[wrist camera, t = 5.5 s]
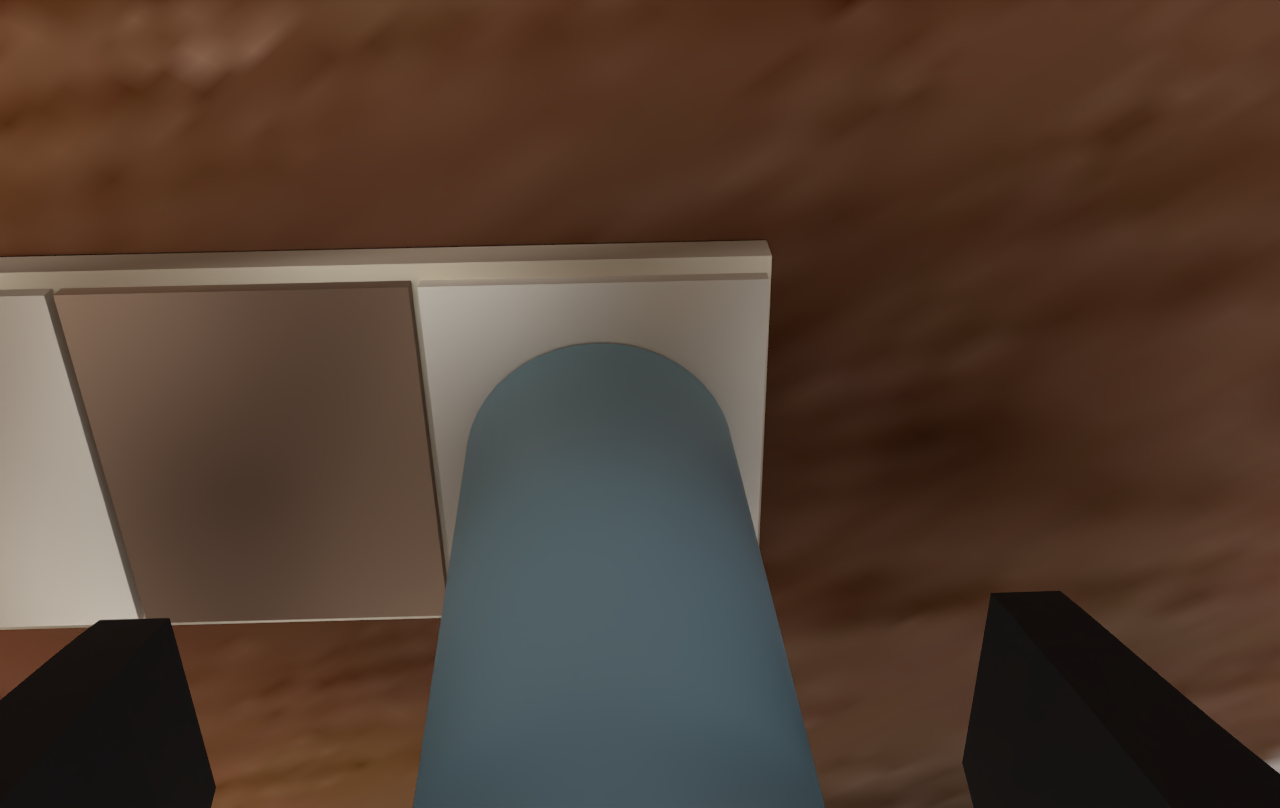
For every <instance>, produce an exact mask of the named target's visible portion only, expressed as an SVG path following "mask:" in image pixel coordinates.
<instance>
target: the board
mask: <svg viewBox="0 0 1280 808" xmlns="http://www.w3.org/2000/svg"><path fill="white" fill-rule="evenodd" d="M771 266H772V254H771V252H770V249H769V246H768V243H767V240H754V241H709V242H664V243H618V244H573V245H528V246H483V247H437V248H392V249H347V250H302V251H256V252H211V253H166V254H121V255H75V256H30V257H0V630H8V629H45V628H82V627H91V626H92V625H94V624H95V623H96V622H98V621H99V620H116V619H149V618H170V621H171V625H194V624H231V623H269V622H306V621H343V620H381V619H418V618H441V616H442V609H443V602H444V596H445V589H446V582H447V576H448V569H449V562H450V556H451V549H452V542H453V535H454V529H455V522H456V515H457V509H458V502H459V495H460V489H461V482H462V475H463V468H464V462H465V455H466V448H467V442H468V438H469V434H470V430H471V427H472V424H473V422H474V419H475V417H476V415H477V413H478V411H479V409H480V408H481V406H482V404H483V403H484V401H485V399H486V398H487V397H488V396H489V395H490V393H491V392H492V391H493V390H494V388H495V387H496V386H497V385H498V384H499V383H500V382H502V381H503V380H504V379H505V378H506V377H507V376H508V375H509V374H511V373H512V372H514V371H515V370H516V369H518V368H519V367H521V366H522V365H524V364H526V363H528V362H530V361H531V360H533V359H535V358H537V357H539V356H542V355H544V354H547V353H550V352H552V351H555V350H559V349H563V348H567V347H571V346H577V345H585V344H619V345H627V346H632V347H636V348H641V349H645V350H648V351H651V352H653V353H656V354H659V355H661V356H664V357H666V358H668V359H670V360H671V361H673V362H675V363H677V364H679V365H680V366H682V367H683V368H685V369H686V370H687V371H689V372H690V373H692V374H693V375H694V376H695V377H696V378H697V379H698V380H699V381H700V382H701V383H703V384H704V385H705V387H706V388H707V389H708V390H709V392H710V393H711V394H712V395H713V396H714V398H715V399H716V401H717V403H718V405H719V406H720V408H721V410H722V411H723V414H724V416H725V419H726V421H727V424H728V427H729V431H730V435H731V439H732V443H733V447H734V451H735V455H736V459H737V462H738V466H739V470H740V474H741V478H742V482H743V486H744V490H745V494H746V498H747V502H748V506H749V510H750V514H751V518H752V521H753V525H754V529H755V533H756V537H757V541H758V545H759V536H760V513H761V491H762V468H763V446H764V423H765V401H766V379H767V356H768V334H769V311H770V289H771Z"/></svg>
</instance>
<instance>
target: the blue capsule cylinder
mask: <svg viewBox="0 0 1280 808" xmlns="http://www.w3.org/2000/svg"><path fill="white" fill-rule="evenodd" d="M413 808H825V806H824V802H823V797H822V793H821V789H820V785H819V781H818V777H817V773H816V769H815V765H814V761H813V757H812V753H811V750H810V746H809V742H808V738H807V734H806V730H805V726H804V722H803V718H802V714H801V710H800V706H799V702H798V698H797V694H796V691H795V687H794V683H793V679H792V675H791V671H790V667H789V663H788V659H787V655H786V651H785V647H784V643H783V639H782V635H781V632H780V628H779V624H778V620H777V616H776V612H775V608H774V604H773V600H772V596H771V592H770V588H769V584H768V580H767V576H766V573H765V569H764V565H763V561H762V557H761V553H760V549H759V545H758V541H757V537H756V533H755V529H754V525H753V521H752V518H751V514H750V510H749V506H748V502H747V498H746V494H745V490H744V486H743V482H742V478H741V474H740V470H739V466H738V462H737V459H736V455H735V451H734V447H733V443H732V439H731V435H730V431H729V427H728V424H727V421H726V419H725V416H724V414H723V411H722V410H721V408H720V406H719V405H718V403H717V401H716V399H715V398H714V396H713V395H712V394H711V393H710V392H709V390H708V389H707V388H706V387H705V385H704V384H703V383H701V382H700V381H699V380H698V379H697V378H696V377H695V376H694V375H693V374H692V373H690V372H689V371H687V370H686V369H685V368H683V367H682V366H680V365H679V364H677V363H675V362H673V361H671V360H670V359H668V358H666V357H664V356H661V355H659V354H656V353H653V352H651V351H648V350H645V349H641V348H636V347H632V346H627V345H619V344H585V345H577V346H571V347H567V348H563V349H559V350H555V351H552V352H550V353H547V354H544V355H542V356H539V357H537V358H535V359H533V360H531V361H530V362H528V363H526V364H524V365H522V366H521V367H519V368H518V369H516V370H515V371H514V372H512V373H511V374H509V375H508V376H507V377H506V378H505V379H504V380H503V381H502V382H500V383H499V384H498V385H497V386H496V387H495V388H494V390H493V391H492V392H491V393H490V395H489V396H488V397H487V398H486V399H485V401H484V403H483V404H482V406H481V408H480V409H479V411H478V413H477V415H476V417H475V419H474V422H473V424H472V427H471V430H470V434H469V438H468V442H467V448H466V455H465V462H464V468H463V475H462V482H461V489H460V495H459V502H458V509H457V515H456V522H455V529H454V535H453V542H452V549H451V556H450V562H449V569H448V576H447V582H446V589H445V596H444V602H443V609H442V616H441V623H440V629H439V636H438V643H437V649H436V656H435V663H434V669H433V676H432V683H431V690H430V696H429V703H428V710H427V716H426V723H425V730H424V736H423V743H422V750H421V757H420V763H419V770H418V777H417V783H416V790H415V797H414V803H413Z"/></svg>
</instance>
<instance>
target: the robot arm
mask: <svg viewBox="0 0 1280 808" xmlns="http://www.w3.org/2000/svg"><path fill="white" fill-rule="evenodd" d="M962 763H963V767H964V771H965V775H966V779H967V783H968V787H969V791H970V795H971V799H972V803H973V806H974V808H1280V774H1279V773H1278V772H1277V771H1275V770H1274V769H1273V768H1272V767H1270V766H1269V765H1268V764H1267V763H1265V762H1264V761H1263V760H1262V759H1260V758H1259V757H1258V756H1257V755H1255V754H1254V753H1253V752H1252V751H1250V750H1249V749H1248V748H1247V747H1245V746H1244V745H1243V744H1242V743H1241V742H1239V741H1238V740H1237V739H1236V738H1234V737H1233V736H1232V735H1231V734H1230V733H1228V732H1227V731H1226V730H1225V729H1223V728H1222V727H1221V726H1220V725H1218V724H1217V723H1216V722H1215V721H1214V720H1212V719H1211V718H1210V717H1209V716H1208V715H1206V714H1205V713H1204V712H1203V711H1202V710H1200V709H1199V708H1198V707H1197V706H1196V705H1194V704H1193V703H1192V702H1191V701H1190V700H1188V699H1187V698H1186V697H1185V696H1184V695H1182V694H1181V693H1180V692H1179V691H1178V690H1177V689H1175V688H1174V687H1173V686H1172V685H1171V684H1170V683H1168V682H1167V681H1166V680H1165V679H1164V678H1163V677H1161V676H1160V675H1159V674H1158V673H1157V672H1155V671H1154V670H1153V669H1152V668H1151V667H1150V666H1148V665H1147V664H1146V663H1145V662H1144V661H1143V660H1141V659H1140V658H1139V657H1138V656H1137V655H1136V654H1134V653H1133V652H1132V651H1131V650H1130V649H1129V648H1127V647H1126V646H1125V645H1124V644H1123V643H1122V642H1120V641H1119V640H1118V639H1117V638H1116V637H1115V636H1113V635H1112V634H1111V633H1110V632H1109V631H1108V630H1106V629H1105V628H1104V627H1103V626H1102V625H1100V624H1099V623H1098V622H1097V621H1096V620H1095V619H1093V618H1092V617H1091V616H1090V615H1089V614H1087V613H1086V612H1085V611H1084V610H1083V609H1081V608H1080V607H1079V606H1078V605H1077V604H1075V603H1074V602H1073V601H1072V600H1070V599H1069V598H1068V597H1067V596H1065V595H1064V594H1063V593H1062V592H1060V591H1043V592H1010V593H991V596H990V602H989V608H988V614H987V620H986V626H985V632H984V638H983V644H982V650H981V656H980V661H979V667H978V673H977V679H976V685H975V691H974V697H973V703H972V709H971V715H970V721H969V727H968V732H967V738H966V744H965V750H964V756H963V762H962ZM215 789H216V786H215V782H214V779H213V775H212V771H211V768H210V764H209V760H208V757H207V753H206V749H205V746H204V742H203V738H202V735H201V731H200V727H199V724H198V720H197V716H196V713H195V709H194V705H193V702H192V698H191V694H190V691H189V687H188V683H187V680H186V676H185V672H184V669H183V665H182V661H181V658H180V654H179V650H178V647H177V643H176V639H175V636H174V632H173V628H172V625H171V621H170V618H149V619H116V620H99V621H98V622H96V623H95V624H94V625H92V626H91V627H90V628H88V629H87V630H86V631H84V632H83V633H82V634H80V635H79V636H78V637H77V638H75V639H74V640H73V641H71V642H70V643H69V644H68V645H66V646H65V647H64V648H63V649H62V650H60V651H59V652H58V653H57V654H55V655H54V656H53V657H52V658H50V659H49V660H48V661H47V662H46V663H44V664H43V665H42V666H41V667H40V668H38V669H37V670H36V671H35V672H34V673H32V674H31V675H30V676H29V677H28V678H26V679H25V680H24V681H23V682H22V683H20V684H19V685H18V686H17V687H16V688H14V689H13V690H12V691H11V692H10V693H8V694H7V695H6V696H5V697H4V698H2V699H1V700H0V808H211V805H212V801H213V797H214V793H215Z"/></svg>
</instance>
